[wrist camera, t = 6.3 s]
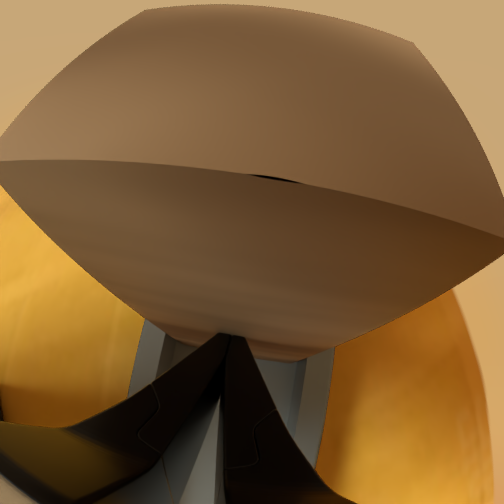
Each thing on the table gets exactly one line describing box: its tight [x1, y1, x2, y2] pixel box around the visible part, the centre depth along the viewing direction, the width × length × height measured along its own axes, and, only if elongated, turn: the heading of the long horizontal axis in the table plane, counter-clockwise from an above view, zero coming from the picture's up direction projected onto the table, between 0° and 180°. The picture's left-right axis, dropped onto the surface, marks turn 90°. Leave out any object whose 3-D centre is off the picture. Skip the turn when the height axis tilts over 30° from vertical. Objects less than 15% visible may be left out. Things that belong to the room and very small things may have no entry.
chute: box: [127, 319, 335, 504], centre depth 12 cm, size 18×11×4 cm, turn 170°
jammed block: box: [0, 4, 504, 364], centre depth 9 cm, size 5×6×14 cm
